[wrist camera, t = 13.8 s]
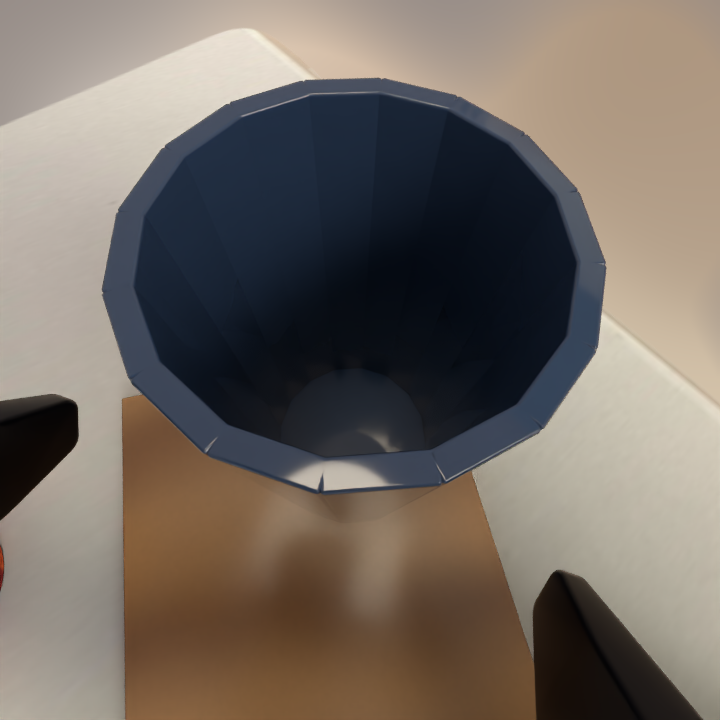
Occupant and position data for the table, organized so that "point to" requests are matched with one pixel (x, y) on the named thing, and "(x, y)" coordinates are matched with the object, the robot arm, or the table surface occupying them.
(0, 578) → the paper cup
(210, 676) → the wooden board
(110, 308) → the tumbler
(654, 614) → the table surface
